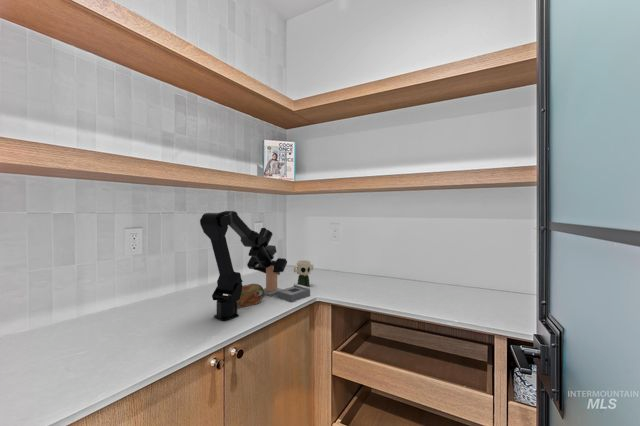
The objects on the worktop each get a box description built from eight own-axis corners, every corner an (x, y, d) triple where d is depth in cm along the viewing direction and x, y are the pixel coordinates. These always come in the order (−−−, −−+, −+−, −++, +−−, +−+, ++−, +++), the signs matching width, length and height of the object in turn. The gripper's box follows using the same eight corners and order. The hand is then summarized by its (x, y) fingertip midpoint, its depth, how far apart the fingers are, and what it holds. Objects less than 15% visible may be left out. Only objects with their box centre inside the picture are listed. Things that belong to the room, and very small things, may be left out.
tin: (229, 310, 107) (229, 289, 107) (226, 308, 109) (226, 287, 109) (264, 302, 116) (264, 282, 116) (260, 300, 119) (260, 281, 119)
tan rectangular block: (272, 291, 129) (272, 265, 129) (266, 290, 130) (266, 264, 130) (277, 289, 133) (277, 263, 133) (271, 288, 134) (271, 262, 134)
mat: (270, 296, 125) (270, 293, 125) (258, 292, 131) (258, 290, 131) (285, 291, 132) (285, 289, 132) (272, 288, 138) (272, 286, 138)
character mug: (296, 289, 136) (296, 263, 135) (291, 286, 142) (291, 261, 142) (316, 287, 141) (316, 261, 141) (309, 283, 147) (310, 259, 147)
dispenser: (291, 302, 117) (291, 292, 117) (277, 297, 123) (277, 288, 123) (310, 295, 126) (310, 286, 126) (296, 291, 132) (296, 283, 132)
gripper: (285, 241, 124) (296, 261, 134) (251, 239, 131) (263, 258, 141) (276, 261, 117) (288, 281, 127) (240, 258, 124) (254, 277, 134)
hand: (273, 273), depth 133 cm, fingers open, 6 cm apart
